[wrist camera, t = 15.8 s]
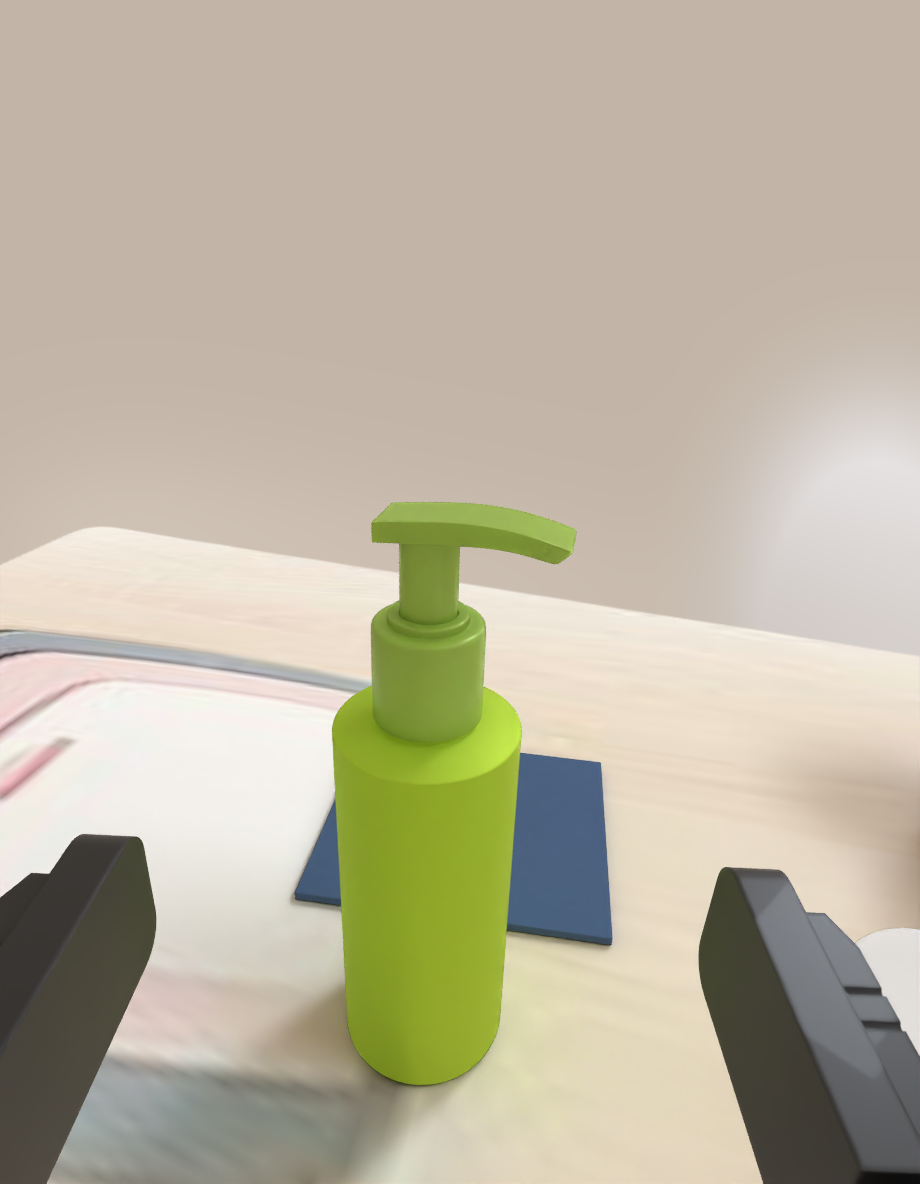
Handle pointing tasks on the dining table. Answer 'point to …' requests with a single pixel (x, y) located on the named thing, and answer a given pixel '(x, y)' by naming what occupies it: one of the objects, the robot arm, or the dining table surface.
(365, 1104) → the dining table surface
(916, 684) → the dining table surface
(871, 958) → the spoon
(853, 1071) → the robot arm
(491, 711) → the soap dispenser
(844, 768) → the dining table surface
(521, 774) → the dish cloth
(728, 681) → the dining table surface
